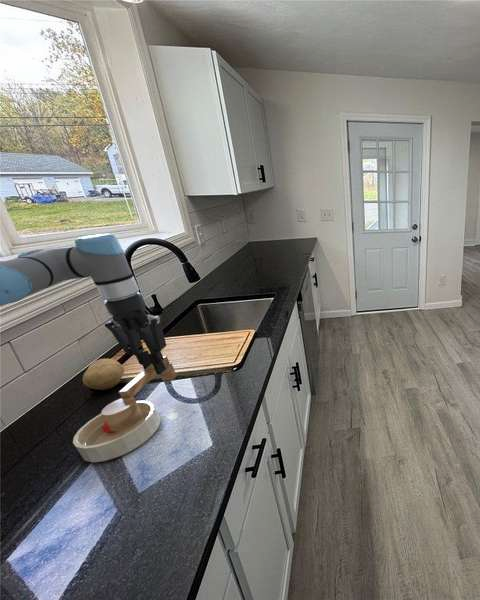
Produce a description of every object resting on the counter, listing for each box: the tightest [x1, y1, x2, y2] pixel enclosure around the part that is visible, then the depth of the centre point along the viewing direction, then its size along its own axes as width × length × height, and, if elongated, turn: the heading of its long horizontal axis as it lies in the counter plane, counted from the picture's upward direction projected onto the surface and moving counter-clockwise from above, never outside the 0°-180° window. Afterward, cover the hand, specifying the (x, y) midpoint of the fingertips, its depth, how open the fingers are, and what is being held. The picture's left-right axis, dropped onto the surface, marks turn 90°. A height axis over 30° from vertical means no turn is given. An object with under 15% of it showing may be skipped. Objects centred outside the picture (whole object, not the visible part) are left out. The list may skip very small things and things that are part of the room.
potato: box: [82, 358, 125, 391], centre depth 99 cm, size 10×14×8 cm
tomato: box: [103, 422, 116, 433], centre depth 80 cm, size 4×4×4 cm
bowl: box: [72, 400, 161, 463], centre depth 78 cm, size 16×16×5 cm
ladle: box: [100, 355, 177, 431], centre depth 83 cm, size 22×6×7 cm, turn 4°
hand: (156, 372), depth 89 cm, fingers closed on ladle, 2 cm apart
